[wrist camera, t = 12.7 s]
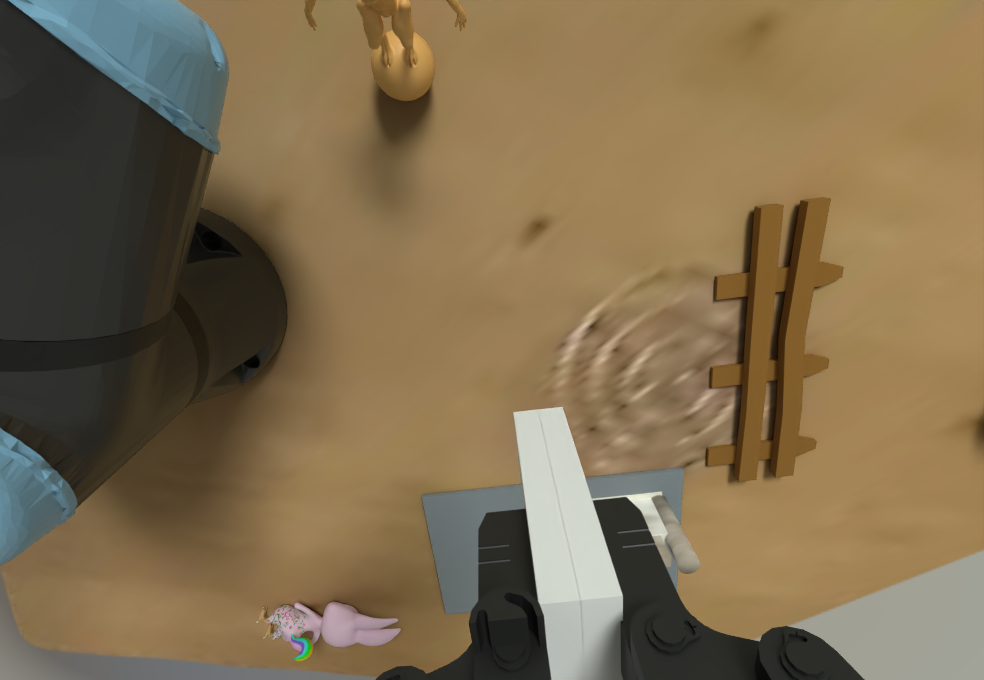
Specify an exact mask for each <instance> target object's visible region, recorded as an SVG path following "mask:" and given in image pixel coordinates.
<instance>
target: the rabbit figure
mask: <svg viewBox="0 0 984 680" xmlns="http://www.w3.org/2000/svg"><path fill="white" fill-rule="evenodd" d="M263 608H264V607H263ZM264 609H265V608H264ZM264 609H263V610H262V611H261V614H260V616H259V620H258V621H257V622H259V621H260V620H261V619H262V620H263V621H264V623H265V624H267V623H269V624H270V625H269V627H268V629H267V631H266V633H265V634H266V636H267V635H269V636H270V638H271V639H272V640H274V639H276V638H279V637H283V639H284V640H285V641H287V642H291V645H292V646H293V648H294V649H296V650H298V651H300V652H301V653H300V654H299V655H298V656H297V657H296V658H294V660H296V661H305V660H307V659H309V658H310V656H311V655H312V653H313V649H314V647H313V644H314V643H315V642H316V641H317V640H318V638H319V636H320V634H321V633H322V637H323V639H324V640H325V642H327V643H328V644H330V645H332V646H335V647H346V646H350V645H352V644H355V643H360V644H363V645H366V646H379V645H383V644H386V643H387V642H389V641H390V640H392V639H393V638H394V637H395V636H396V635H397V634H398V633H399V632H400V631H401V629H400V628H394V629H380V628H383V627H386V626H388V625H390V624H393V623H396V622H397V621H398V619H397V618H386V619H380V618H372V617H368V616H365V615H362V614H359V613H358V611H357V610H356V609H355V608H354V607H353V606H350V605H346V604H342V603H339V602H330V603H329V604H328V605H327V606H326V608H325V611H324V615H323V617H321V616H319V615H318V614H317V613H315V612H313V611H312V610H310V609H309V608H307V607H305V606H304V605H302V604H300V603H295V604H294V607H293V606H291V605H282V606H280V607H279V608H277V609H276V610H275V612H274V613H273V614H272V615H271V616H270V617H269V618H267V619H266V618H265V617H264V616H265V614H266V610H267V607H266V609H265V610H264ZM302 611H303V612H304V613H303V612H302ZM257 622H256V623H257ZM271 623H273V625H274V624H277V626H278V628H277V630H276V631H275V633H274V634H272V633H271V631H272V629H273V628H272V627H273V625H272V626H271ZM306 631H313V632H314V636H313V638H312V639H311V640H309V639H308V638H304V637H302V638H299V637H300V636H301V635H302V634H303V633H304V632H306ZM266 636H265V637H266ZM265 637H264V638H265ZM264 638H263V639H264Z"/></svg>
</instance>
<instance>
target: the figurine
mask: <svg viewBox="0 0 984 680" xmlns="http://www.w3.org/2000/svg"><path fill="white" fill-rule="evenodd" d="M447 2H448V3H449V5H450V6H451V7H452V9H453V10H454V11H455V12H456V13H457V19H456V23H455V27H457V24H458V22H459V26H460V31H461V30H462V23H463V27H464V28H465V22H466V15H465V12H464V10H463V9H462V8H461V6H460V4H459V2H458V0H447ZM314 5H315V0H305V9H304V11H305V16H306V18H307V20H308V23H309V25H310V26H311V27H313V29H314V30H315V27H314V25H315V26H316V27H317V25H316V22H315V20H314V19H313V17H312V14H311V12H312V10H313V7H314ZM357 8H358V10H359V12H360V14H361V16H362V19H363V26H364V31H365V34H366V36H367V39H368V44H369V47H370V48H372V49H373V52H372V58H371V65H372V71H373V75H374V78H375V80H376V82H377V84H378V85H379V87H380V88H381V89H382V90H383V91H384V92H385V93H386V94H387V95H389V96H390V97H392V98H394V99H397V100H401V101H411V100H415V99H417V98H419V97H421V96H422V95H424V94H425V93H426V92H427V91H428V89H429V88H430V86H431V84H432V82H433V79H434V74H435V63H434V58H433V54H432V52H431V50H430V48H429V46H428V44H427V43H426V42H425V41H424V40H423V39H422V38H421V37H420V36H419V35H418V34H416V33H414V28H413V22H412V19H411V4H410V1H409V0H358V1H357ZM380 15H381V16H383V17H389V16H390V15H391V16H392V29H393V30H391V31H389V32H387V33H386V32H385V30H384V26H383V21H382V19H381V16H380ZM313 23H314V24H313Z"/></svg>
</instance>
